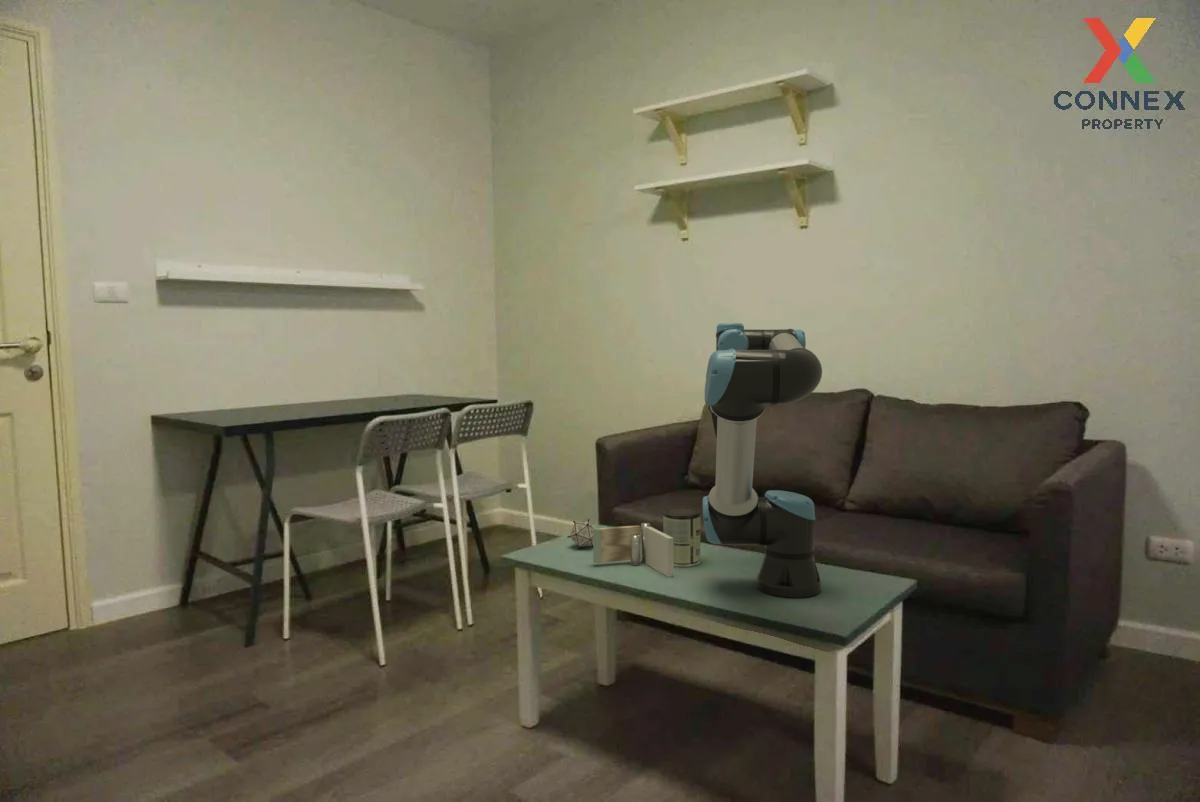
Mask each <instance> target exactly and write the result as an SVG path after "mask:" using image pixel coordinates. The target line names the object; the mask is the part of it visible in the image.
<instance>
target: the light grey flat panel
mask: <svg viewBox="0 0 1200 802" xmlns="http://www.w3.org/2000/svg"><path fill="white" fill-rule="evenodd" d="M673 546H674V538H673V537H670V536H668V535H666V534H664V533H663V531H660V530H658V529H656V528H654V527H653V526H650V527H645V563H644V564H645V565H647V566H650V567H651V568H652V569H654V570H656V571H657V572H658V573H661V574H662V575H664V576H665V577H668V578H671V577H674V566H673Z"/></svg>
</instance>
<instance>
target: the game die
mask: <svg viewBox="0 0 1200 802" xmlns="http://www.w3.org/2000/svg"><path fill="white" fill-rule="evenodd" d="M572 522H573V523H574V525H573V528H572V529H571V533H570V535H568V536H567V538H568V539H569V538H570V539H571V540H572V541H573V542H574V543H575V545H576V546H578V547H577V550H580V548H583V547H589V546H592V547H593V528H595V526H593V525H592V524H591V522H590V518H588V519H587V520H586V521H578V522H577V521H575V520H573V521H572Z"/></svg>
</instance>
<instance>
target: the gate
mask: <svg viewBox="0 0 1200 802" xmlns="http://www.w3.org/2000/svg"><path fill="white" fill-rule="evenodd" d="M633 534H637V535H640V560H641V525H626V526H625V525H623V526H611V527H610V526H608V527H594V528H593V549H592V550H593V556H592V557H593V559H592V560H593V563H595V564H601V563H609V562H612V563H613V562H624V561H625V562H626V561H631V535H633Z"/></svg>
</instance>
